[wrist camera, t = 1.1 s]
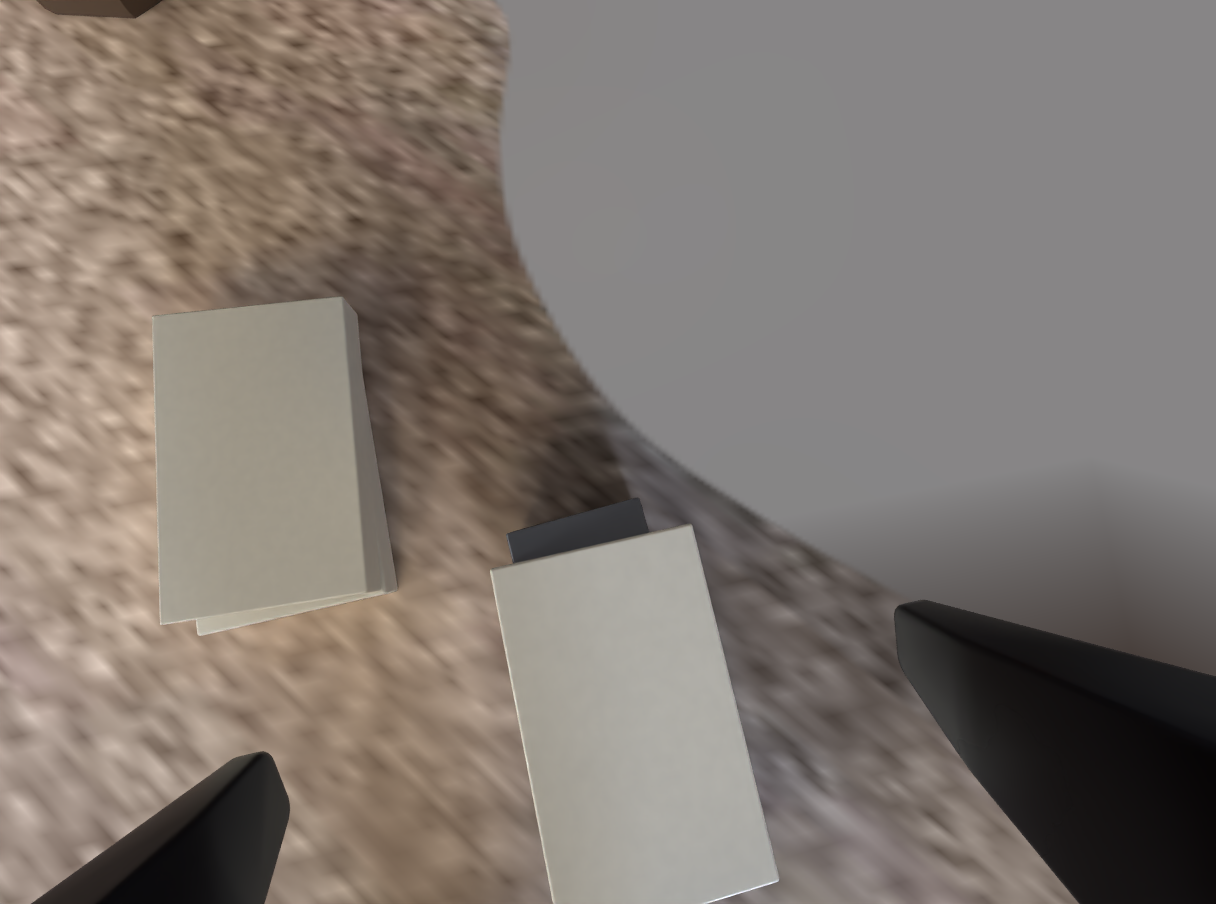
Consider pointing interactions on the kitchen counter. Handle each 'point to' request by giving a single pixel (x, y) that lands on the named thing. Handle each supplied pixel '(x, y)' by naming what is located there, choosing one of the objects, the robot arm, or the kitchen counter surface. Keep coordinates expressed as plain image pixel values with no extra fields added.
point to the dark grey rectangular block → (578, 531)
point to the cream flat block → (265, 465)
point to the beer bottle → (99, 7)
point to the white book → (631, 725)
